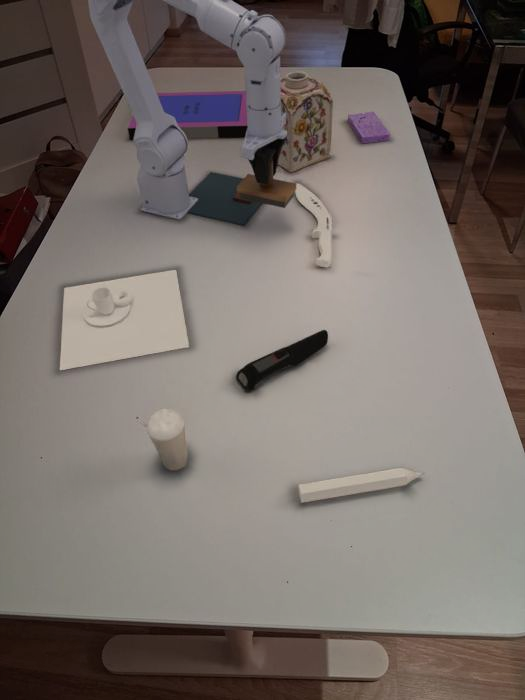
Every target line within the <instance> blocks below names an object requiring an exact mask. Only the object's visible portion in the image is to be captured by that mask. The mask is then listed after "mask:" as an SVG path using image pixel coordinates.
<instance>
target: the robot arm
mask: <svg viewBox="0 0 525 700" xmlns="http://www.w3.org/2000/svg"><path fill="white" fill-rule="evenodd" d="M161 1H163V2H164V3H166V4H168V5H170V6H172V7H173V8H176V9H178V10H180V11H181V12H183V13H185V14H187V15H189V16H191V17H193V18H195V19H196V22H197V25H198V28H199V30H200V31H201V32H202V33H205V34H206V35H207V36H210V37H211V38H213V39H214V40H216V41H217V42H220V43H221V44H222V45H225V46H226V47H227V48H230V49H231V50H233V51H235V52H236V54H237V57H238V59H239V61H240V62H241V64H242V65H243V69H244V88H245V91H246V107H247V124H248V128H247V131H246V136H245V138H244V141H243V143H242V145H241V147H240V155H241V156H240V157H241V159H244V160H248V162H249V164H250V166H251V169H252V172H253V175H255V178H256V181H257V183H262V184H268V182H269V178H270V167H271V162H272V159H273V177H275V175H276V173H277V169H278V166H279V165H278V160H279V156H280V152H281V149H282V147H283V145H284V143H285V141H286V139H287V131H286V130H283V126H284V125H285V124H286V113H282V112H281V78H282V76H281V75H282V74H281V56H280V55H279V54H280V53H281V52H282V50H283V49H284V47H285V44H286V32H285V28H284V26H283V24H282V23H281V22H280V21H279V20H278V19H276V18H275V17H274V15H272V14H262V15H258V12H257V11H256V10H253V9H251V10H248V9H247V8H245V7H244V6H242V5H240V4H238V2H235V1H234V0H161ZM133 3H134V0H87V4H88V11H89V17H90V20H91V23H92V25H93V27H94V29H95V32H96V34H97V37H98V39H99V41H100V43H101V46H102V48H103V50H104V52H105V54H106V57H107V59H108V61H109V63H110V66H111V69H112V70H113V72H114V73H113V74H114V75H115V77H116V80H117V82H118V84H119V86H120V88H121V91H122V93H123V95H124V98H125V100H126V102H127V104H128V107H129V109H130V112H131V114H132V117H133V116H134V118H135V120H136V123H137V125H136V130H135V135H134V140H132V141H133V143H134V146H135V149H136V159H137V162H138V164H139V166H140V167H139V169H138V171H137V186H138V190H139V194H140V199H141V204H142V207H141V209H140V210H141V212H145V213H148V214H153V215H157V216H162V217H165V218H170V219H174V220H179V221H180V220H182V219H183V218H184V217H185V216H186V214H188V213H187V212H188V210H189V209H190V208H191V207H192V206H193V205H194V204H195V203H196V202H197V201H198V198H194V197H190V196H189V194H190V193H189V185H188V180H187V172H186V165H185V160H186V159H185V154H186V153H187V151H188V149H189V139H187V137H186V135H185V133H184V132H183V131H182V130H181V129H180V127H179V126H178V124H177V122H176V120H175V118H174V117H173V116H171V115H169V114H167V113H165V112H164V110H163V108H162V105H161V103H160V100H159V98H158V96H157V93H158V92H157V90H156V89H155V86H154V84H153V80H152V78H151V76H150V73H149V71H148V68H147V66H146V63H145V60H144V59H143V56H142V53H141V51H140V49H139V46H138V43H137V41H136V39H135V36H134V34H133V31H132V28H131V26H130V23H129V22H128V16H129V13H130V11H131V8H132V5H133Z"/></svg>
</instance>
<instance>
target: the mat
mask: <svg viewBox="0 0 525 700" xmlns="http://www.w3.org/2000/svg"><path fill="white" fill-rule="evenodd" d="M243 179H244V178H243V177H237V176H233V175H228V174H222V173H218V172H213V171H210V172H208V174H207V175H206V176H205V177H204V178H203V179H202V180H201V181H200V182H199V183H198V184H197V185H196V187H194V189H192V191H191V192H190V193H189V196H190V197H194V198H198V201H197V202H196V203H195V204H194V205H193V206H192V207H191V208H190V209H189V210H188V212H187V213H186V214H190V215H193V216H194V215H195V216H198V217H203V218H207V219H212V220H216V221H220V222H224V223H229V224H233V225H239V226H242V227H245V226H247V224H248V223H249V222H250V220H251V219H252V218H253V216H255V214H256V213H257V212H258V210H259V209H260V208H261V207H262V205H264V203H259V202H254V201H252V203H251V204H247V203H242V202H237V201H233V197H234V196H235V194H236V193H237V186H238V184H239V183H240V182H241V181H242V180H243Z"/></svg>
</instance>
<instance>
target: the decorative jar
mask: <svg viewBox="0 0 525 700" xmlns="http://www.w3.org/2000/svg"><path fill="white" fill-rule="evenodd" d="M333 108H334V100H333V98H332V96H331V93H330V92H329V90H328V89H327V88H326V85H325V84H324V82H322V81H320V80H318V79H316V78H314V77H312V76H309V75H308V73H307V72H304V71H292V72H288V73H287V74H286V75H285V77H281V112H282V113H286V124H285V125H284V126H283V130H286V131H287V139H286V141H285V143H284V145H283V147H282V149H281V152H280V156H279V160H278V165H277V166H280V167H281V168H283V169H285V170H286V171H287V172H289V173H293V172H296V171H298V170H301V169H303V168H306V167H308V166H311V165H313V164H317V163H319V162H322V161H323V160H326V159H329V158H330V156H331V146H332V131H333V129H332V128H333Z"/></svg>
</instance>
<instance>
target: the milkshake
mask: <svg viewBox="0 0 525 700" xmlns="http://www.w3.org/2000/svg"><path fill="white" fill-rule="evenodd" d="M135 417H136V418H135V420H136V421H137V422H138V423H139V424H141V425H142V426H143V427H145V429H146V432H147V435H148V437H149V438H150V441H151V442H152V444H153V446H154V448H155V449H156V451H157V454H158V455H159V456H158V457H159V458H160V460H161V462H162V464H163V466H164V468H165V469H167V470H169V471H170V472H171V471H173V472H174V471H180V470H181V469H183V468H184V467H185V466H186V465H187V462H188V460H189V457H188V448H187V447H188V446H187V441H186V440H187V439H186V429H185V420H184V417H183V416H182V414H181V413H180V412H179V411H178V410H175V409H173V408H161V409H159V410H157V411H156V412H154V413H153V414H151V416H149V417H148V419H147V422H146V423H145V422H144V421H143V420H142V419H140V418H139V417H138V416H135Z"/></svg>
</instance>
